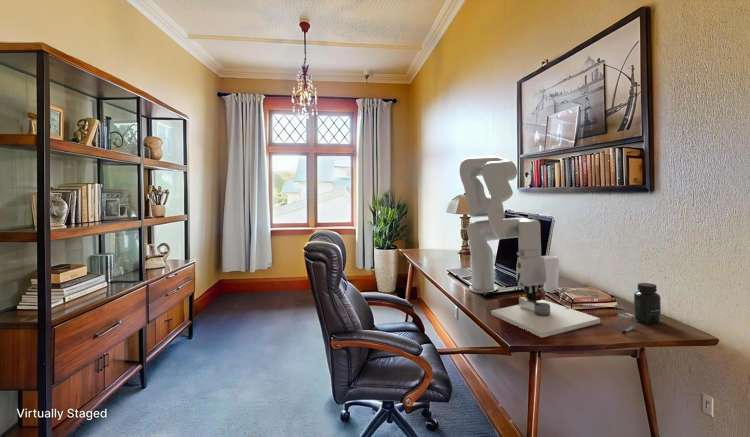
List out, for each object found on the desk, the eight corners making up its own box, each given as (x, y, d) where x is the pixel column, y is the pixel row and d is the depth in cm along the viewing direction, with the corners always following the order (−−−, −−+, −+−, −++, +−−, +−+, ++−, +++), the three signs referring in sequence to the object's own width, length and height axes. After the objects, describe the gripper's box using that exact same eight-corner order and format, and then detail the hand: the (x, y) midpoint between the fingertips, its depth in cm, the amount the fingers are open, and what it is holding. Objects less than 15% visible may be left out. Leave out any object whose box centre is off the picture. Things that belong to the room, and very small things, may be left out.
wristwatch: (630, 327, 111) (630, 311, 111) (639, 330, 108) (638, 314, 108) (614, 330, 110) (614, 314, 109) (623, 334, 107) (622, 317, 107)
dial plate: (491, 314, 131) (491, 310, 131) (543, 303, 139) (542, 299, 139) (541, 337, 108) (541, 332, 108) (600, 322, 116) (600, 317, 116)
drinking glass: (562, 293, 149) (561, 257, 148) (546, 294, 150) (545, 259, 149) (555, 289, 156) (553, 255, 155) (539, 290, 156) (537, 256, 155)
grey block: (553, 314, 122) (553, 304, 122) (542, 316, 120) (541, 307, 120) (526, 304, 134) (526, 296, 134) (516, 306, 132) (515, 298, 132)
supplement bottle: (658, 326, 110) (657, 288, 109) (631, 322, 115) (630, 285, 114) (663, 320, 114) (662, 283, 114) (637, 316, 120) (636, 280, 119)
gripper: (519, 257, 125) (521, 308, 127) (554, 252, 129) (555, 302, 131) (505, 254, 132) (507, 302, 134) (539, 249, 137) (540, 296, 138)
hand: (531, 302), depth 132 cm, fingers closed
